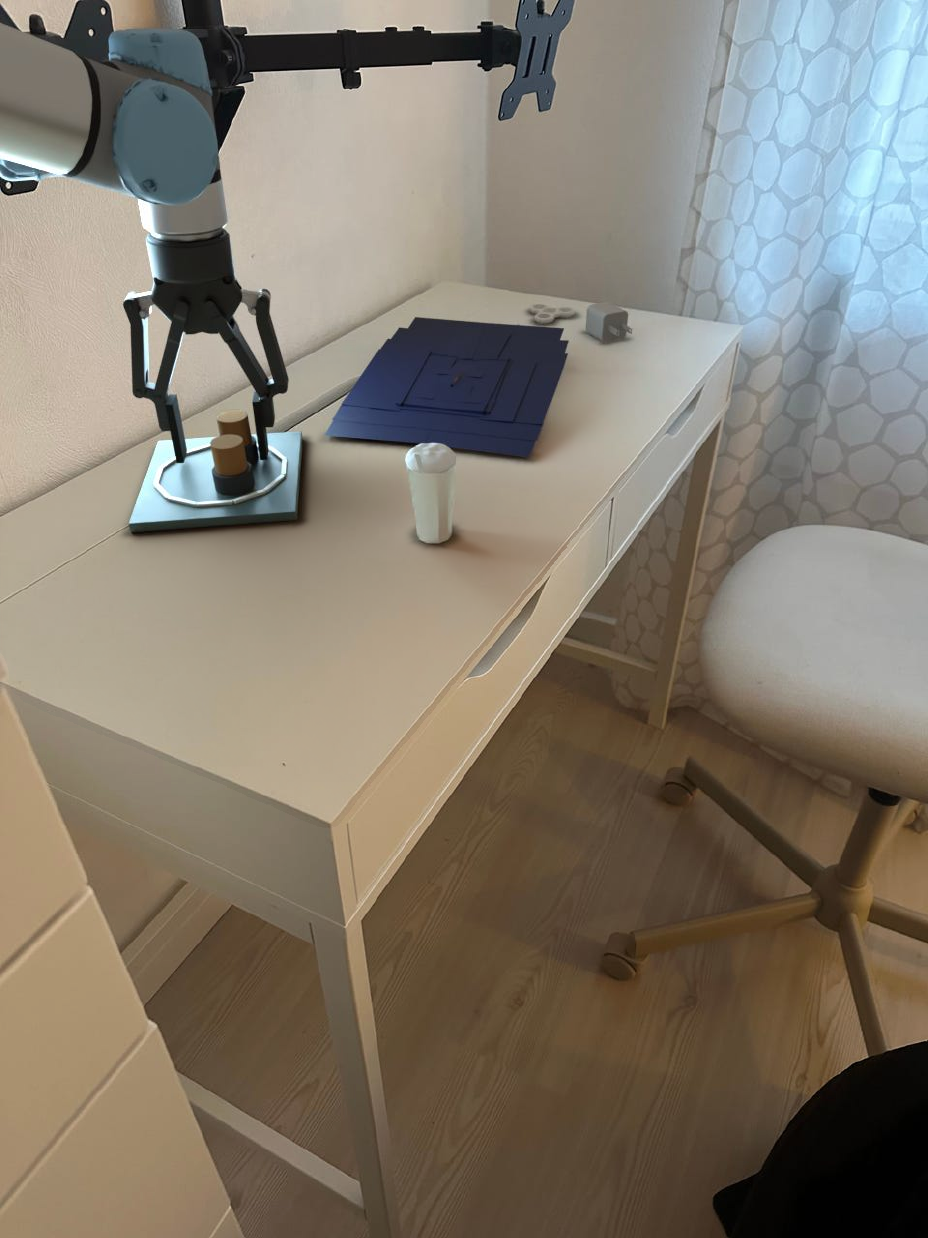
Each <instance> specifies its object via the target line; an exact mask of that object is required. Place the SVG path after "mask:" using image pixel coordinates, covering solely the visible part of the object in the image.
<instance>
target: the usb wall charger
mask: <svg viewBox="0 0 928 1238" xmlns="http://www.w3.org/2000/svg"><path fill="white" fill-rule="evenodd" d="M585 315H586V316H585V332H586V333H587V334H588V335H590V336H592V337H594V338H596V339H597V340H599V341H600V342H603V343H604V344H607V343H612V342H618V341H621V340H624V339H625V338H626V336H627V334H632V335H633V327H630V326H629V325H628V322H629V313H628V311H627V310H625V309H623V308H621V307H619V306H618V305H616V304H613V303H612V302H610V301H604V302H603V301H602V302H599V303H593V304H590V305H588V307H587V308H586V314H585Z"/></svg>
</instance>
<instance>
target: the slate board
mask: <svg viewBox="0 0 928 1238" xmlns="http://www.w3.org/2000/svg"><path fill="white" fill-rule="evenodd" d="M302 432H303V431H301V430H299V431H298V430H297V431H282V432H269V433H268V432H267V439H268V447H269V449H268V457H267V460H260V456H259V458H258V460H257V461H256V462H255V463H253V464H251V465H252V470H253V476H254V481H255V485H254V487H253V488H252V489H251V490H250V491H248V492H246V493H243V494H240V495H232V496H230V495H222V494H220V493H218V492H217V491H216V490H215V485H214V481H213V476H212V469H213V467H214V461H213V456H212V451H211V447H210V442H211V440H213V439H214V438H216V437H217V436H210V437H208V436H206V437H193V438H185V442H186V447H187V454H186V458H185V461H184V463H177V462H176V457H175V452H174V447H173V442H172V439H164V440H158V441H157V443H156V446H155V449H154V450H153V454H152V457H151V460H150V462H149V465H148V468H147V471H146V474H145V477H144V479H143V482H142V484H141V488H140V491H139V493H138V496H137V499H136V502H135V505H134V507H133V510H132V513H131V515H130V517H129V522H128V527H129V530H130V531H129V532H130V533H140V532H142V533H143V532H154V531H155V532H156V531H167V530H180V529H193V528H195V529H196V528H208V527H221V526H233V525H234V526H236V525H249V524H250V525H251V524H261V523H262V524H263V523H274V522H289V521H297V520H298V509H299V508H298V507H299V493H300V481H301V467H302V465H301V464H302V453H303V452H302V451H303V433H302ZM251 436H253V437H255V439H256V443H257V448H258V441H257V434H256V433H255V434H254V433H253V434H252V433H251ZM258 454H259V449H258Z"/></svg>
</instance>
